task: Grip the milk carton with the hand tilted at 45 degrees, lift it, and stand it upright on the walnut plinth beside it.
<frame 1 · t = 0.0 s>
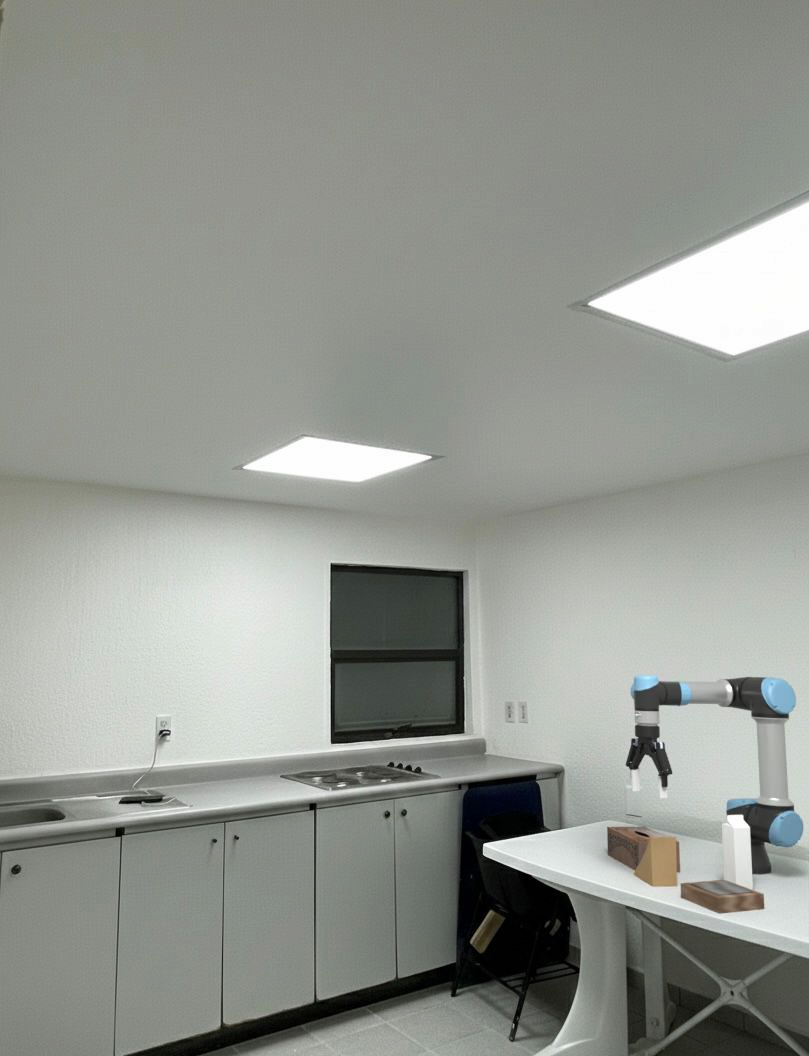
hand: (648, 794, 251), 28 cm above the table, tool pointing down, fingers open, 13 cm apart
tissue box cover: (642, 864, 279), on the table
milk: (738, 889, 249), on the table
walnut plinth: (721, 903, 234), on the table
sandwich container: (654, 881, 258), on the table
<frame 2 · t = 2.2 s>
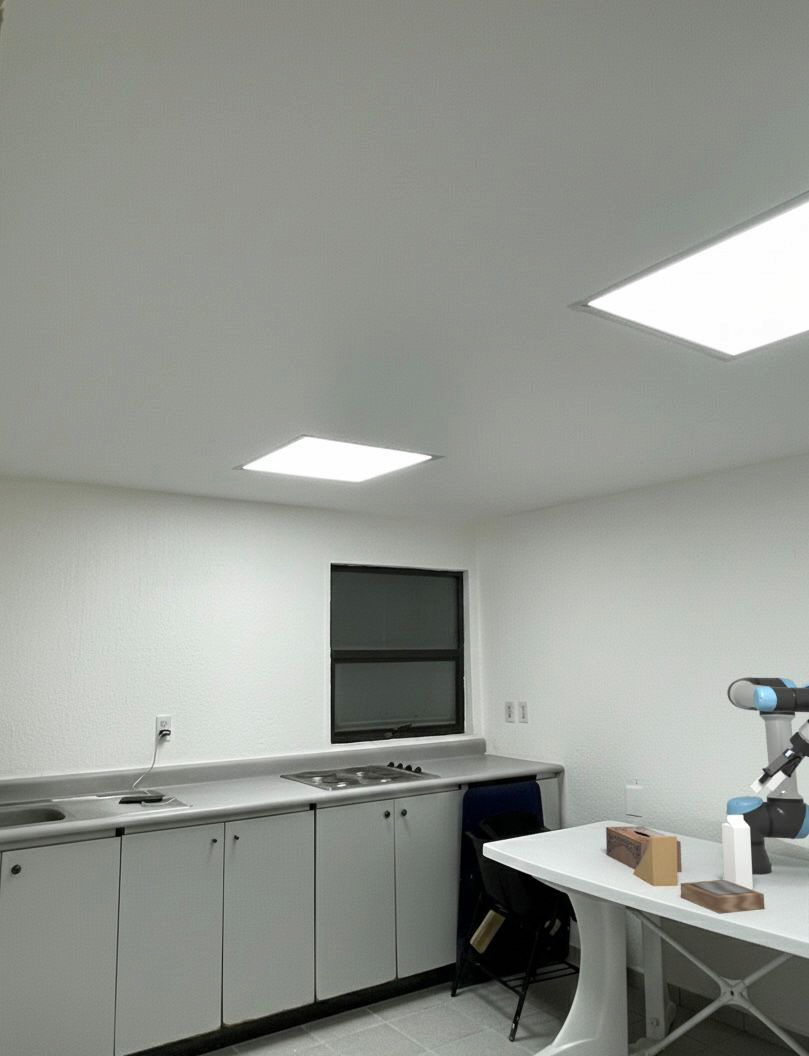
hand: (761, 789, 249), 31 cm above the table, tool tilted 40°, fingers open, 13 cm apart
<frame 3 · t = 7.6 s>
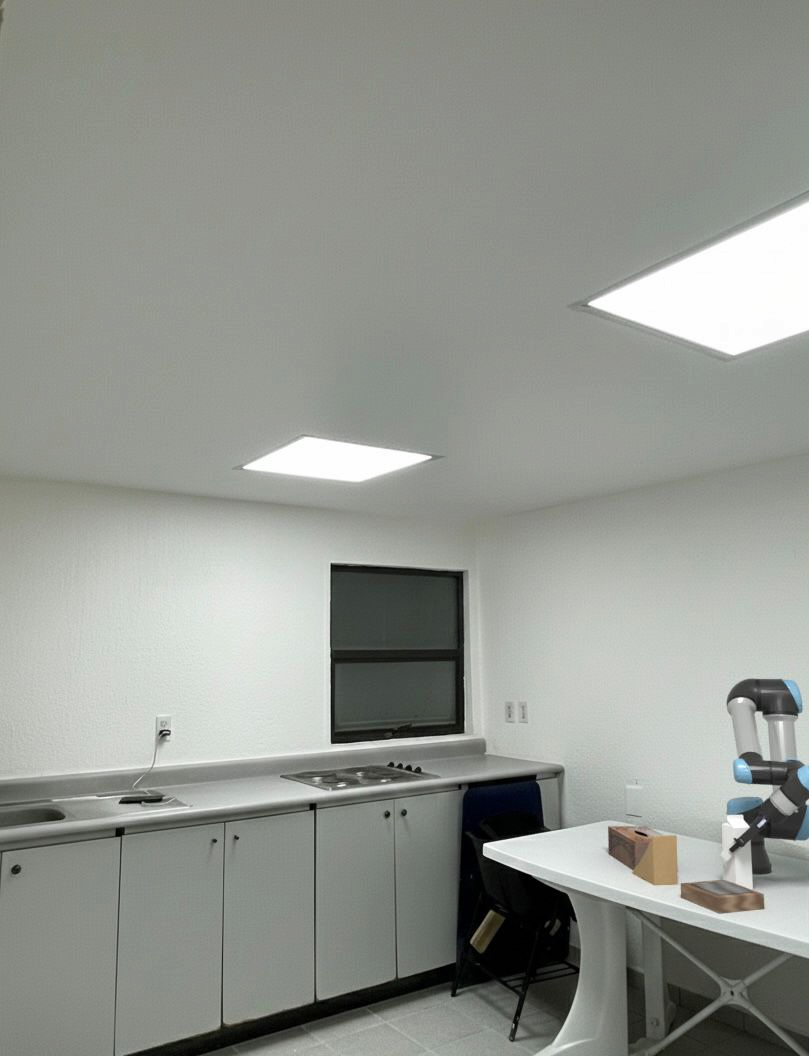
hand: (725, 854, 252), 10 cm above the table, tool tilted 45°, fingers closed on milk, 8 cm apart
milk: (738, 889, 249), on the table, touching gripper
sandwich container: (654, 879, 259), on the table
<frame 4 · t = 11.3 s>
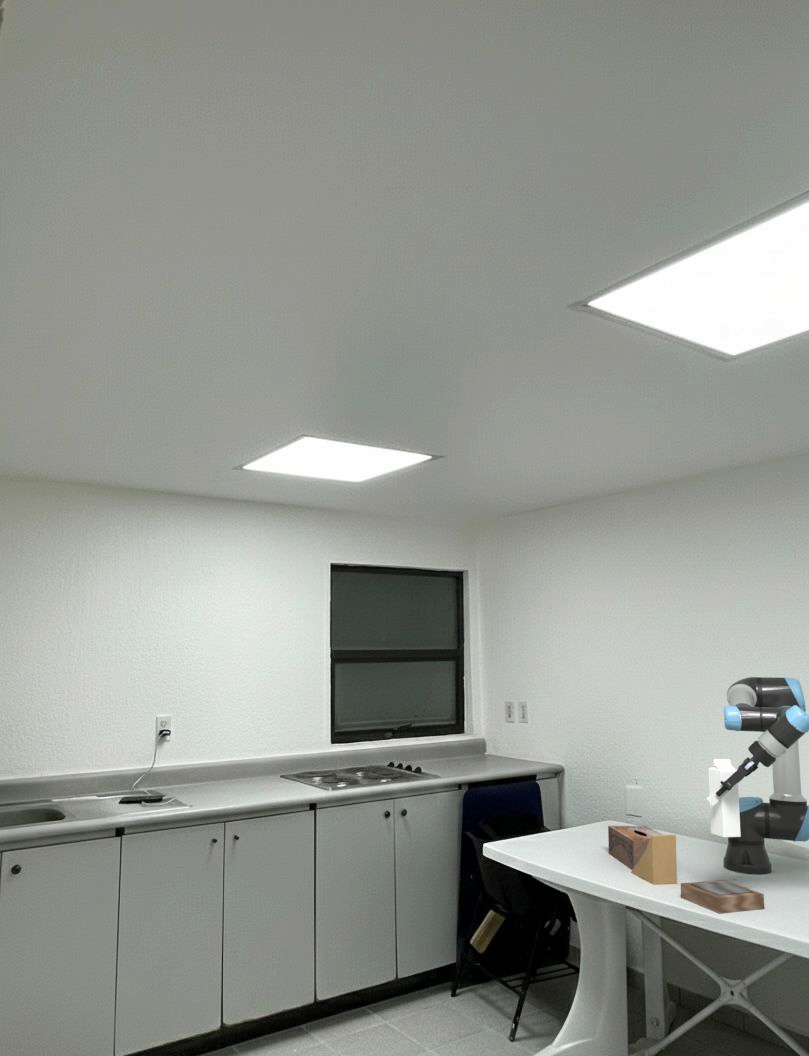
hand: (712, 800, 243), 28 cm above the table, tool tilted 45°, fingers closed on milk, 8 cm apart
milk: (725, 835, 240), point 18 cm above the table, touching gripper
when the fingers open (15 cm above the table, at t = 15.0 s): milk drops 1 cm, resting on walnut plinth.
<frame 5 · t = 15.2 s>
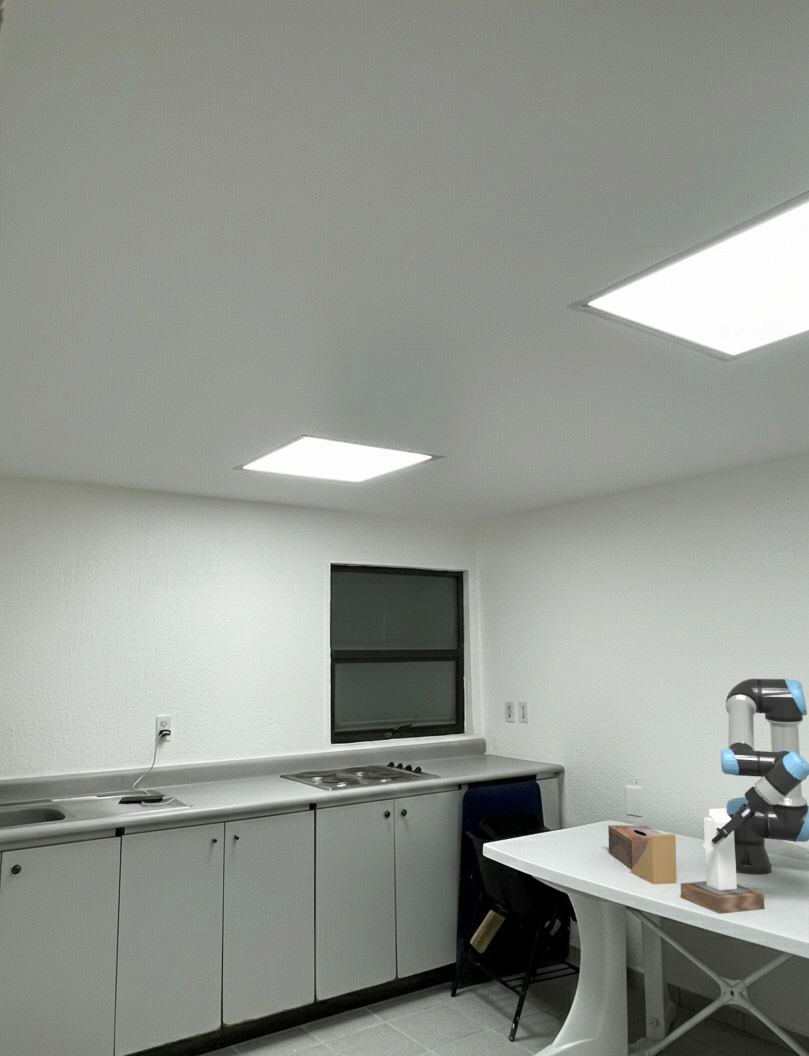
hand: (708, 845, 238), 16 cm above the table, tool tilted 45°, fingers open, 10 cm apart
milk: (721, 887, 234), point 4 cm above the table, touching walnut plinth
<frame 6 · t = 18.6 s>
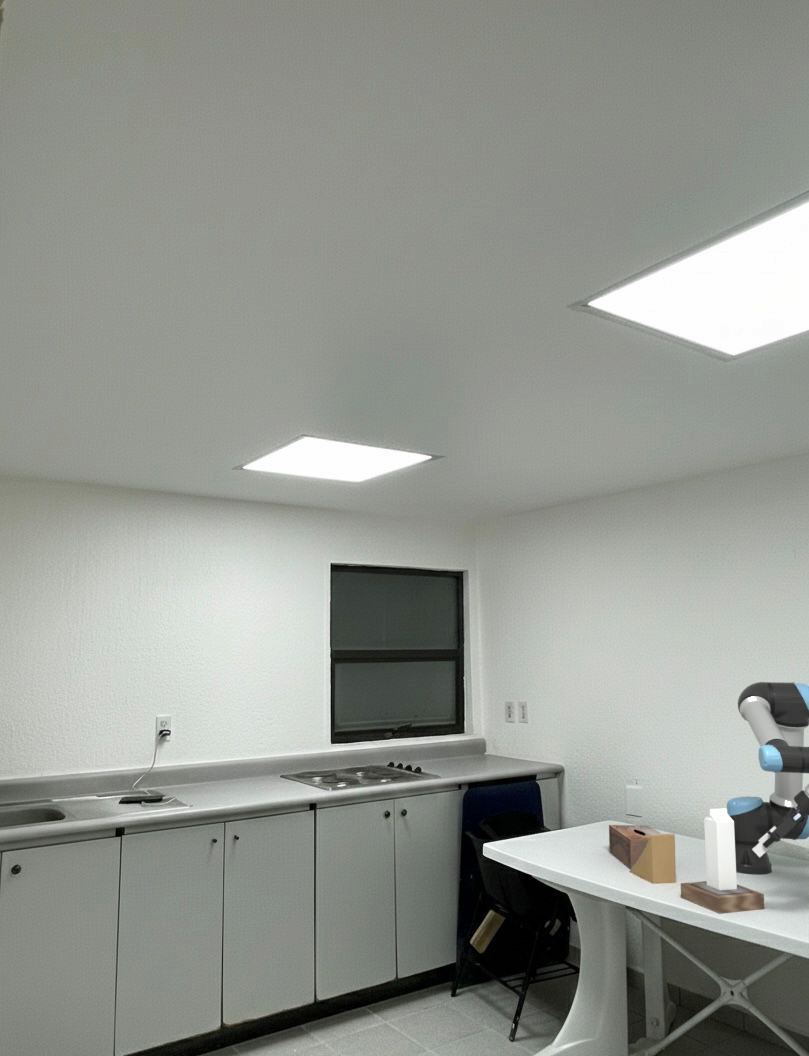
hand: (758, 848, 231), 16 cm above the table, tool tilted 45°, fingers open, 13 cm apart
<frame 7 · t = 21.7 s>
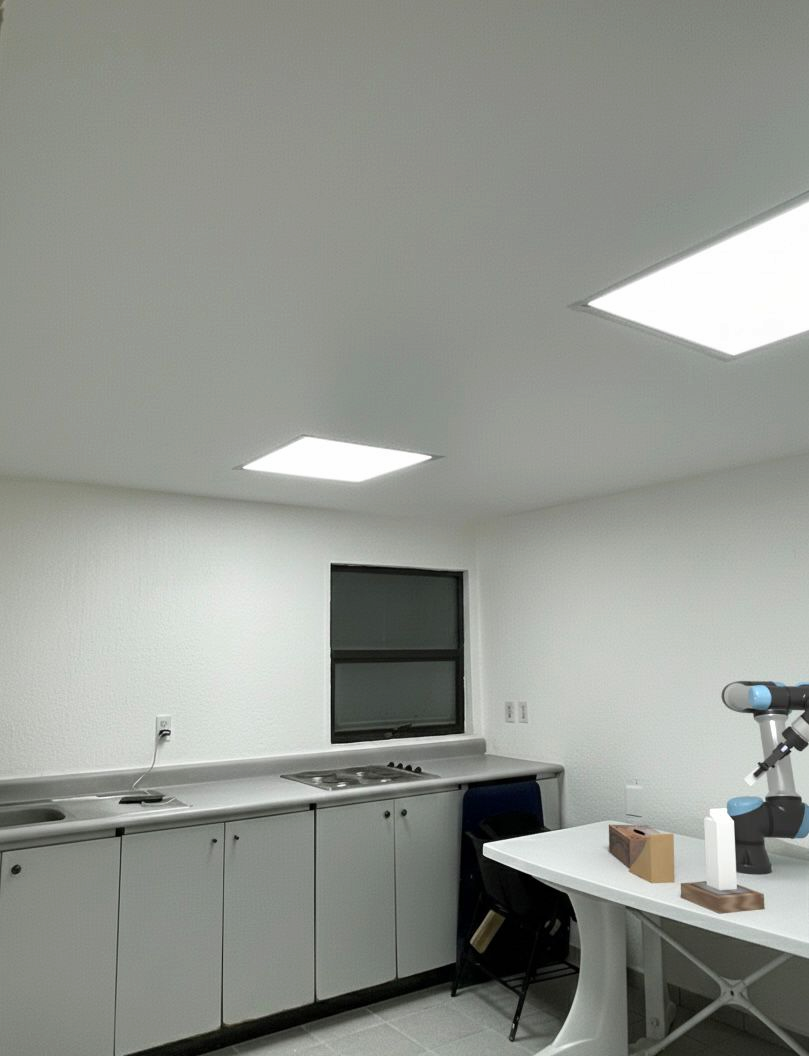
hand: (750, 780, 254), 33 cm above the table, tool tilted 45°, fingers open, 13 cm apart
at the end: milk inside the target area on the walnut plinth (0.2 cm from its centre), point 4.1 cm above the walnut plinth's base; milk tilted 0°; the gripper is holding nothing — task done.
